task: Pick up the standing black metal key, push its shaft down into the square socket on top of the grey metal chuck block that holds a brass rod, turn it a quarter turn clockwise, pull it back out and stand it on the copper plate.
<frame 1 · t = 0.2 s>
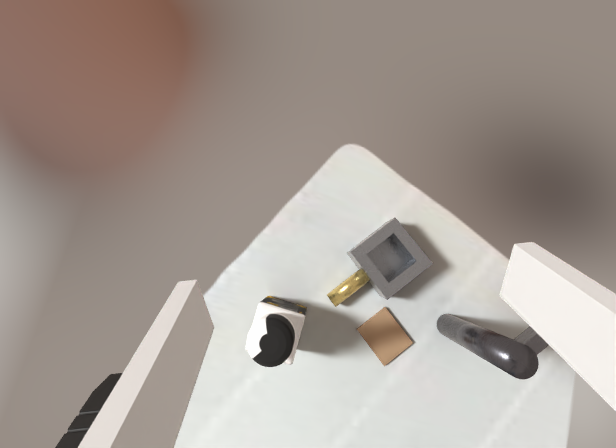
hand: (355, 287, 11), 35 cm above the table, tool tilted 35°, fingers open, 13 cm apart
chuck block: (383, 258, 46), on the table
copper plate: (384, 335, 44), on the table
medicine bottle: (281, 321, 45), on the table
chuck key: (447, 325, 44), on the table
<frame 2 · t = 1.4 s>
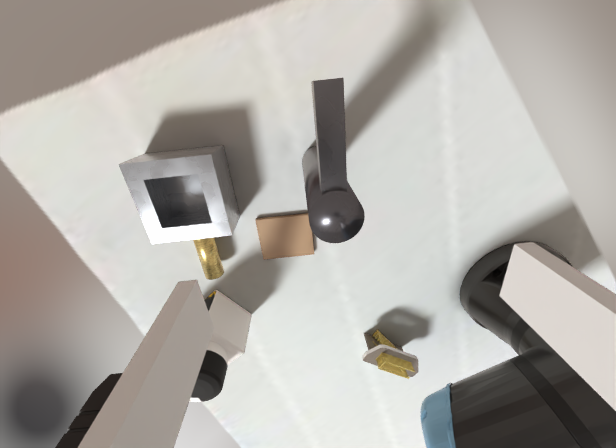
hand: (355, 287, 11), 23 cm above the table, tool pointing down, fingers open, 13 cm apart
chuck block: (195, 187, 32), on the table
copper plate: (286, 235, 36), on the table
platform: (384, 334, 46), on the table
medicine bottle: (220, 312, 42), on the table
chuck key: (317, 161, 32), on the table
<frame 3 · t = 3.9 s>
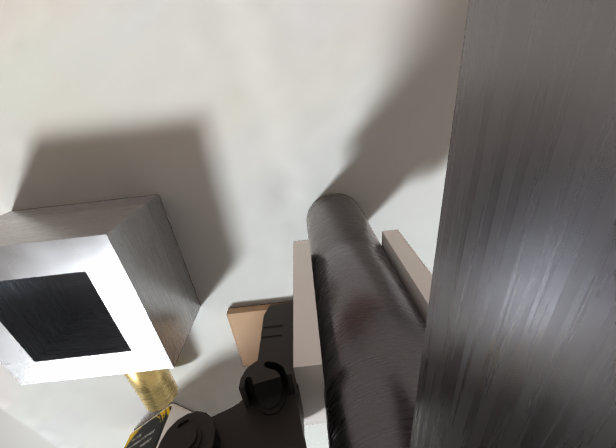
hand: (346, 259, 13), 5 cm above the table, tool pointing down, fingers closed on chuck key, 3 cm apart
chuck block: (116, 264, 18), on the table
copper plate: (279, 331, 22), on the table
medicine bottle: (182, 428, 27), on the table
chuck key: (334, 219, 17), on the table, touching gripper
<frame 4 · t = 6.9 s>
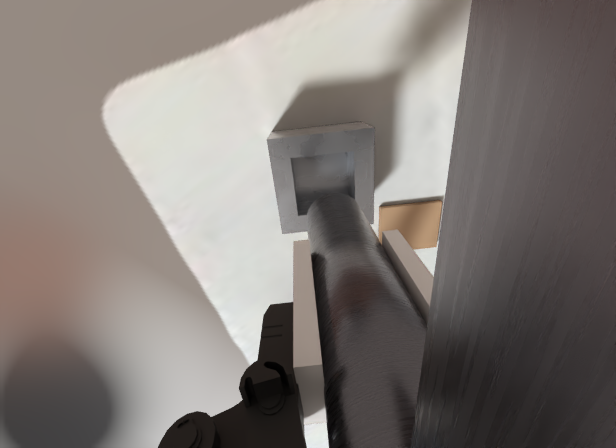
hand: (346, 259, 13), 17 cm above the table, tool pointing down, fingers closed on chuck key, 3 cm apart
chuck block: (319, 170, 29), on the table
copper plate: (407, 226, 32), on the table
chuck key: (334, 218, 17), point 13 cm above the table, touching gripper
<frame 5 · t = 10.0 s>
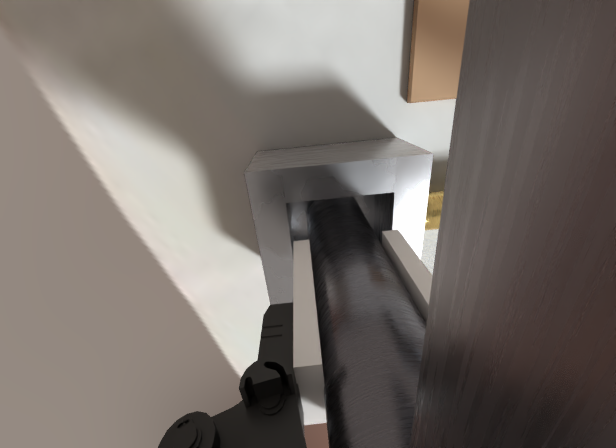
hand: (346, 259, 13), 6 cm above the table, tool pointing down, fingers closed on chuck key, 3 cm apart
chuck block: (330, 208, 19), on the table
copper plate: (466, 27, 15), on the table
chuck key: (334, 218, 17), point 2 cm above the table, touching gripper
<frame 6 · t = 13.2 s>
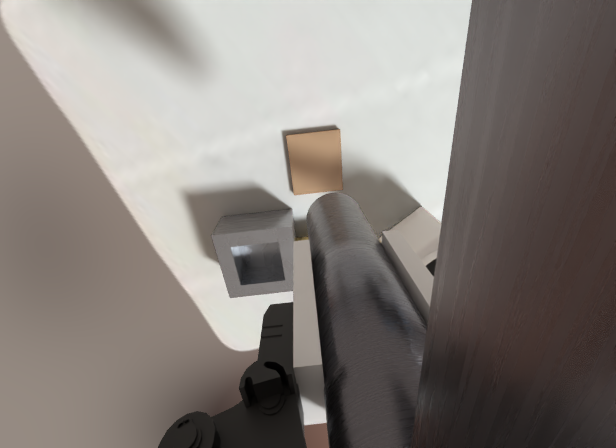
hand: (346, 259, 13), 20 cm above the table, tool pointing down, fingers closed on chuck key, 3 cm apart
chuck block: (263, 243, 36), on the table
copper plate: (315, 162, 31), on the table
medicine bottle: (412, 237, 37), on the table
chuck key: (334, 218, 17), point 16 cm above the table, touching gripper
when the fingers open (6 cm above the table, at t = 16.1 s): chuck key stays where it is, resting on copper plate.
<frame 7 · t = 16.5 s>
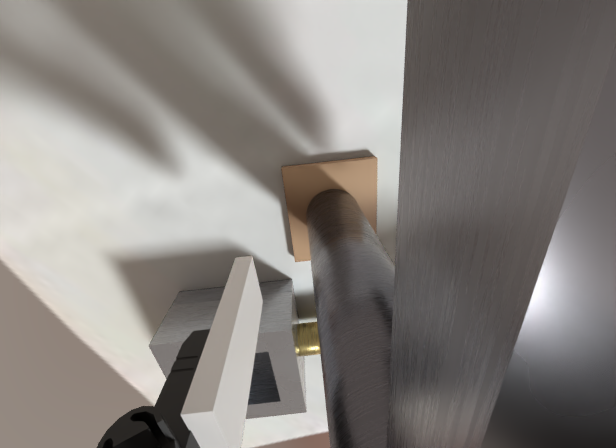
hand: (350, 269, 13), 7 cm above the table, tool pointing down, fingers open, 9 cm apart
chuck block: (247, 326, 23), on the table
copper plate: (331, 211, 19), on the table
chuck key: (332, 214, 18), point 1 cm above the table, touching copper plate
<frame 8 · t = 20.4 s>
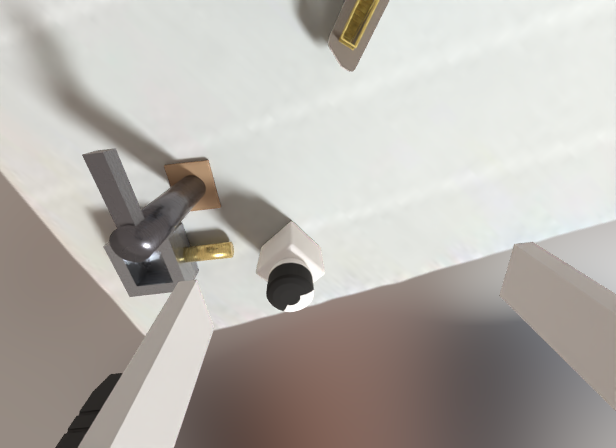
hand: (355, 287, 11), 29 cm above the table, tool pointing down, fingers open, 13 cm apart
chuck block: (163, 250, 43), on the table
copper plate: (194, 186, 38), on the table
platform: (351, 24, 31), on the table
medicine bottle: (291, 246, 44), on the table
chuck key: (192, 187, 38), point 1 cm above the table, touching copper plate
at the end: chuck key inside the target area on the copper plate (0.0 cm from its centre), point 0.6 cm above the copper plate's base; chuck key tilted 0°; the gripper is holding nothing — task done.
